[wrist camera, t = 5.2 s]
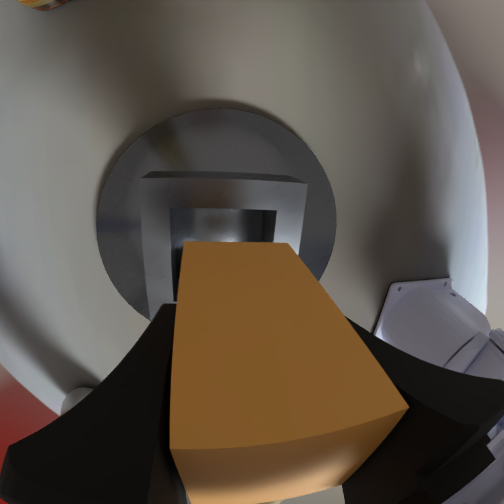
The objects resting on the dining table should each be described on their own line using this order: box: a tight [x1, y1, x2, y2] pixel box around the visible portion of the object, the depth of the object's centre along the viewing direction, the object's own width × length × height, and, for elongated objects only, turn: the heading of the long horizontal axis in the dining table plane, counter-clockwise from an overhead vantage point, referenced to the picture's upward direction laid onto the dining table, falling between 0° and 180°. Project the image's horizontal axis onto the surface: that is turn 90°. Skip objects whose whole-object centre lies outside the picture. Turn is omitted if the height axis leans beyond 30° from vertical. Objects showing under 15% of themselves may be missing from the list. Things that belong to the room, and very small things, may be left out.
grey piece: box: [96, 109, 336, 321], centre depth 18 cm, size 16×24×4 cm, turn 175°
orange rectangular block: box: [170, 241, 409, 504], centre depth 8 cm, size 4×4×8 cm
